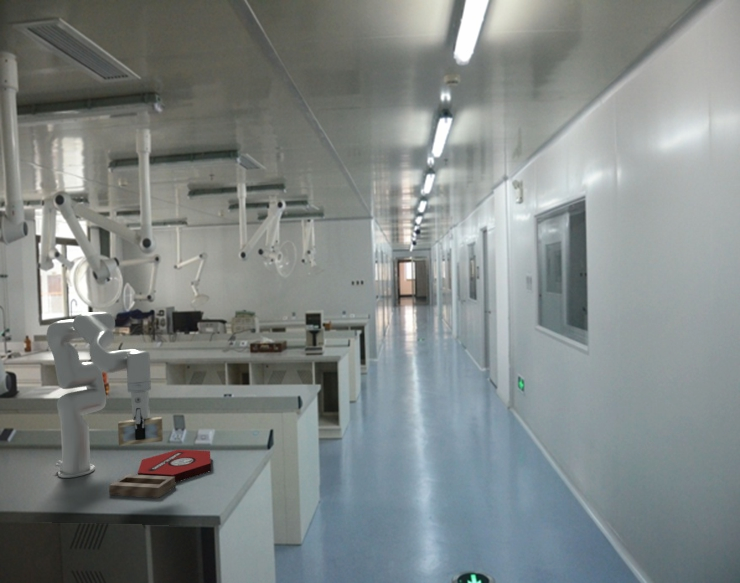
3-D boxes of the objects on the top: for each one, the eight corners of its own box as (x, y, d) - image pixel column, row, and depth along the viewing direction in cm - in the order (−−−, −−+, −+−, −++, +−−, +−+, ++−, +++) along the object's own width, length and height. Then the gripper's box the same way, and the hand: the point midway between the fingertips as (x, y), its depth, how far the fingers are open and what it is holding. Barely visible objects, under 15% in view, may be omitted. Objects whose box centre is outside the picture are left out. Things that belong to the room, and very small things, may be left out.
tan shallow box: (109, 495, 179) (109, 485, 179) (128, 483, 189) (127, 474, 189) (158, 497, 176) (158, 487, 176) (175, 486, 185) (174, 476, 185)
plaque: (119, 481, 193) (192, 485, 187) (119, 472, 193) (192, 475, 187) (161, 457, 219) (227, 460, 213) (161, 448, 219) (226, 451, 213)
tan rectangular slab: (118, 446, 178) (117, 423, 178) (120, 443, 181) (119, 421, 181) (162, 441, 183) (161, 418, 183) (162, 438, 186) (162, 416, 185)
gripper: (148, 389, 175) (150, 443, 175) (152, 381, 190) (154, 430, 191) (124, 391, 173) (126, 446, 173) (130, 383, 188) (132, 433, 189)
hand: (141, 437), depth 182 cm, fingers closed on tan rectangular slab, 3 cm apart
